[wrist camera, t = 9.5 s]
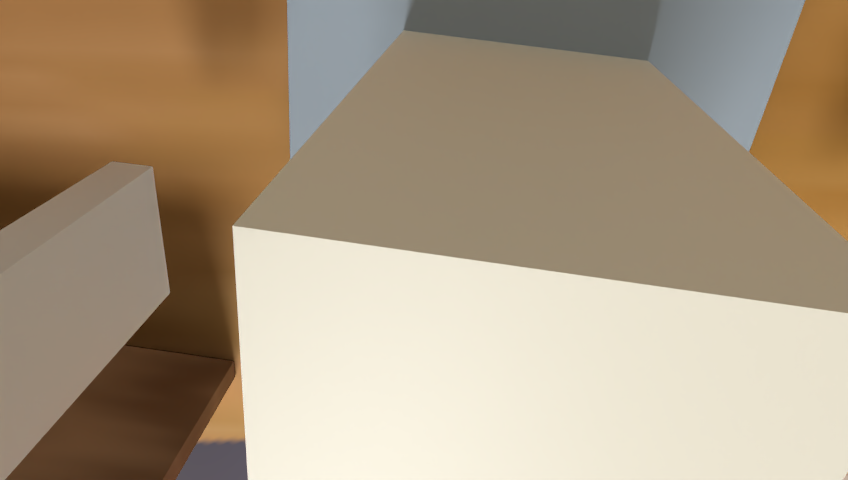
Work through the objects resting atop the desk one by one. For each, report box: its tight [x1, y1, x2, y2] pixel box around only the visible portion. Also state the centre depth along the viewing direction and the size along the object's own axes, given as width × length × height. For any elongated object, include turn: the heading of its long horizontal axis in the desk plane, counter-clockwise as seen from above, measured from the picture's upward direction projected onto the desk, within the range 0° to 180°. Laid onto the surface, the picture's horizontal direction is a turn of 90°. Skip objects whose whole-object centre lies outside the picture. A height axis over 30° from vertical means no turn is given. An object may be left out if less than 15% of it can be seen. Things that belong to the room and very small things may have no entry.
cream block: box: [233, 30, 848, 480], centre depth 10 cm, size 5×7×9 cm
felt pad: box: [287, 0, 805, 159], centre depth 14 cm, size 10×10×1 cm
